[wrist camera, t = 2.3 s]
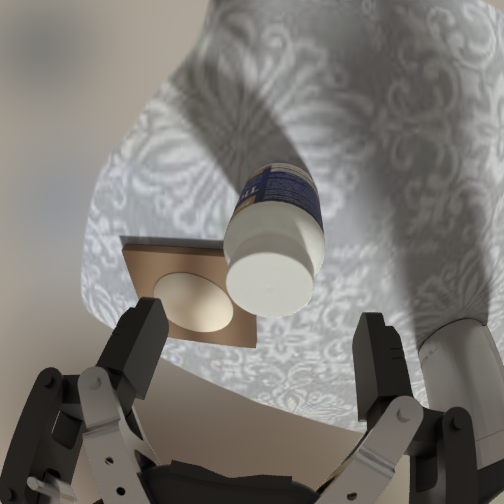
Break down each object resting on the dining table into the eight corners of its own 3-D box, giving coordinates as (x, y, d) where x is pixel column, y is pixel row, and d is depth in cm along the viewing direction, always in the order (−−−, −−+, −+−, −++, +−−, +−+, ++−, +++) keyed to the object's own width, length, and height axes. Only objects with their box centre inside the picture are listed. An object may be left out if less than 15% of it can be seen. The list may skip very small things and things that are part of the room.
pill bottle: (253, 151, 19) (218, 221, 11) (328, 173, 19) (349, 257, 11) (237, 217, 22) (203, 311, 14) (304, 235, 22) (304, 336, 14)
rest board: (254, 251, 24) (252, 259, 23) (256, 341, 31) (255, 349, 30) (126, 243, 25) (121, 250, 24) (155, 328, 32) (152, 335, 31)
